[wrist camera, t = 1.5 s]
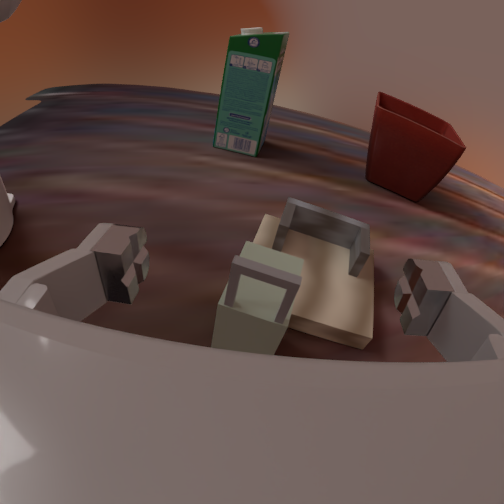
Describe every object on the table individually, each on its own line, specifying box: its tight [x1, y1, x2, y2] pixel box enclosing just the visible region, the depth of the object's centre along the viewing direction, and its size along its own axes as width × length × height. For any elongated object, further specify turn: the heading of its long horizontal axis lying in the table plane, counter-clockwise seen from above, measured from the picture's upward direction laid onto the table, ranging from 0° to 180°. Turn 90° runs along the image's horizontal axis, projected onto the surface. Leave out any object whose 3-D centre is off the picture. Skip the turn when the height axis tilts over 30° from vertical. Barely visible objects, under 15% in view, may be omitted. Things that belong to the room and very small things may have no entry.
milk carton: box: [213, 28, 289, 157], centre depth 56 cm, size 9×9×25 cm
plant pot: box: [365, 92, 466, 202], centre depth 62 cm, size 19×19×17 cm
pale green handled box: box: [211, 241, 304, 355], centre depth 27 cm, size 5×7×15 cm
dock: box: [253, 197, 374, 350], centre depth 38 cm, size 16×15×6 cm
